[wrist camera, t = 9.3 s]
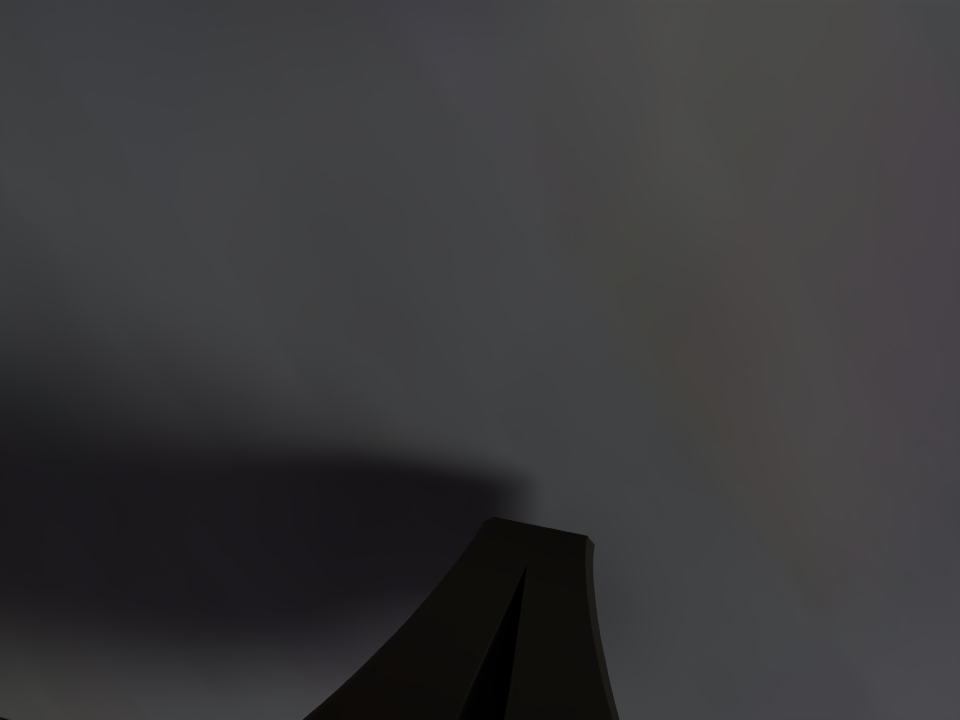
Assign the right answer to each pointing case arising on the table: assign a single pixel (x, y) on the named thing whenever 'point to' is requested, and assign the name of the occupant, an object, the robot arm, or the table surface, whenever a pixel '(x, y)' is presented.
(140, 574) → the table surface
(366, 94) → the table surface
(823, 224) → the table surface
